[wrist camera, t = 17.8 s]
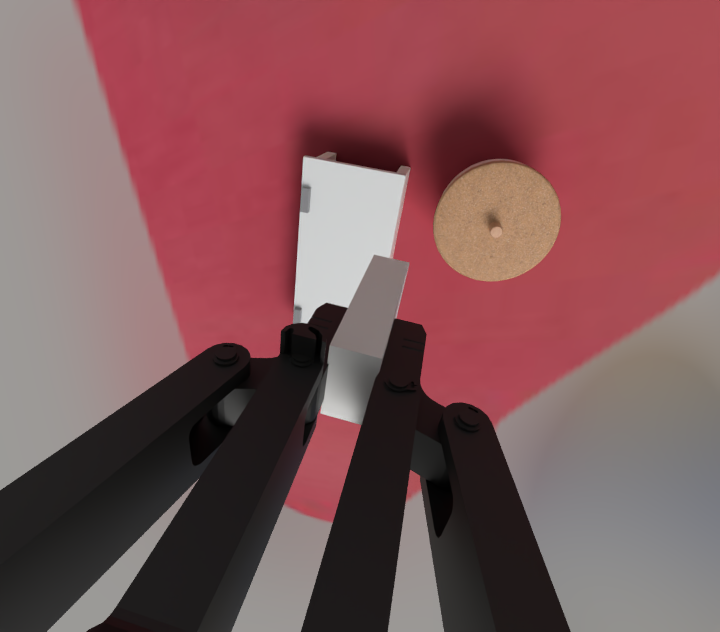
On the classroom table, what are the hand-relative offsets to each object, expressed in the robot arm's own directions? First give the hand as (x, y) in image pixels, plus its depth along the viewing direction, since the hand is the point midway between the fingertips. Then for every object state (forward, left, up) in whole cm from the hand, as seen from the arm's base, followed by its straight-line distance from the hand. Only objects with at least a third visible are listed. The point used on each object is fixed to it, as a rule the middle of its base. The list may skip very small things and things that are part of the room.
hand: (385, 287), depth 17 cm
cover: (+11, -7, -24) cm, 28 cm away
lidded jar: (+2, +7, -29) cm, 30 cm away
